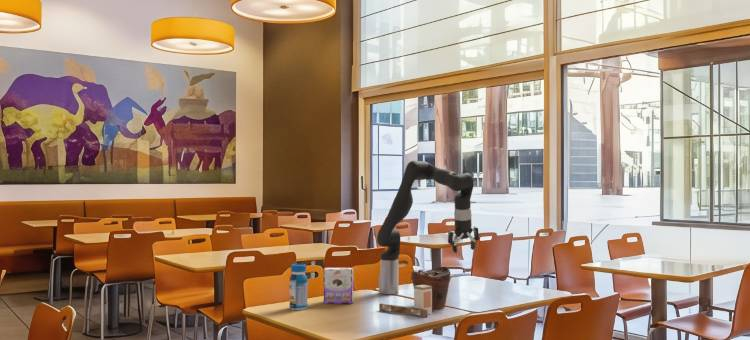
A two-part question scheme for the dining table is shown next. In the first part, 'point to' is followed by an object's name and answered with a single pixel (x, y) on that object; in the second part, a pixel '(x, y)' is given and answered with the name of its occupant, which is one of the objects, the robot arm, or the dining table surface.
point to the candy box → (338, 285)
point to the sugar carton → (423, 297)
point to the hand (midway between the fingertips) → (463, 250)
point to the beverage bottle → (298, 287)
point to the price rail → (403, 310)
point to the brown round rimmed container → (434, 284)
